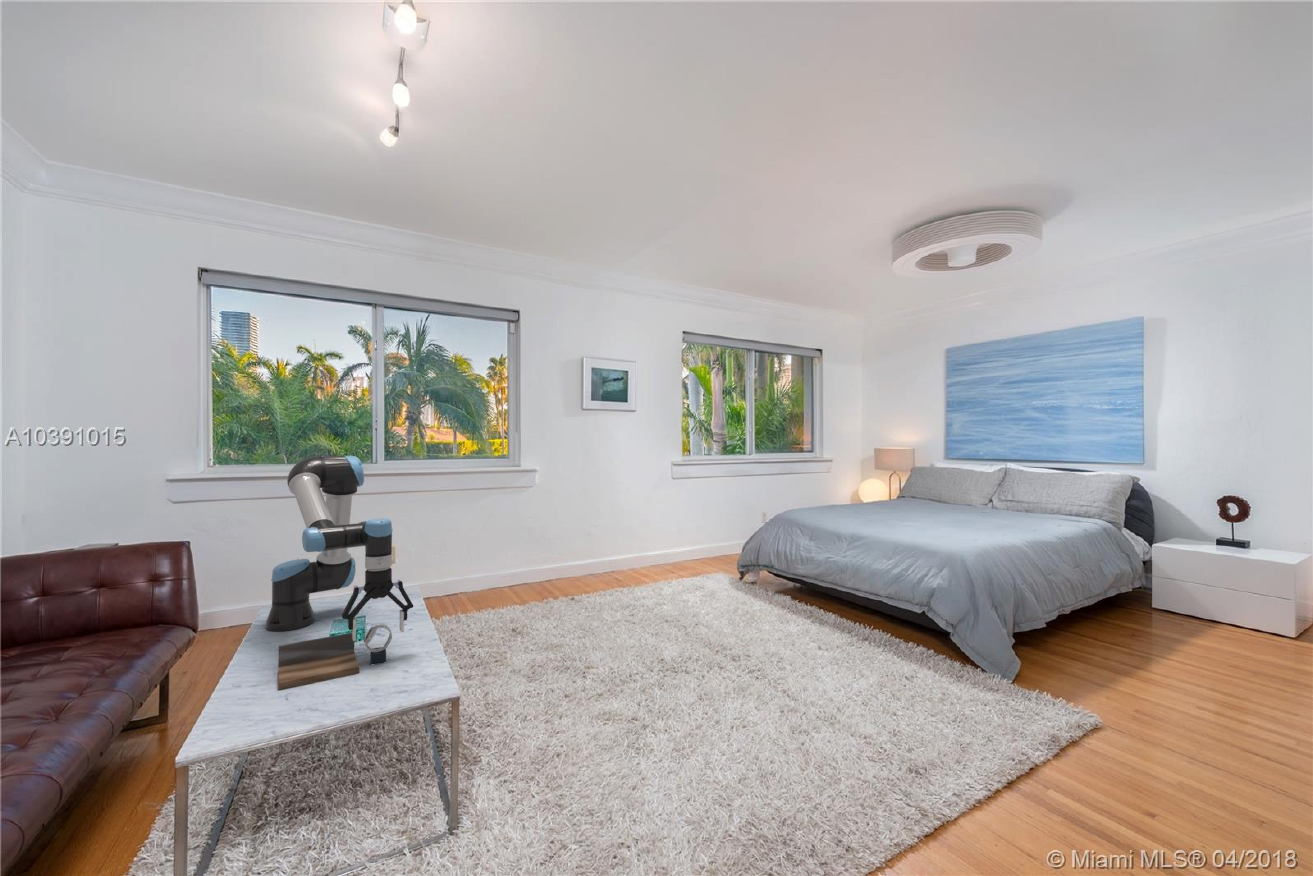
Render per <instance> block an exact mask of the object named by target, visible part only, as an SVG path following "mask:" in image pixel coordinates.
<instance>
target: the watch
mask: <svg viewBox="0 0 1313 876" xmlns="http://www.w3.org/2000/svg"><path fill="white" fill-rule="evenodd" d="M379 629H385V630H387V631H388V632H389V636H388V637H387V640H386V641H385V643H384V645H383V646H381V647H380V646H379V647H375V648H373V647H372V648H371V647H370V646H369V645H368V644H369V643H371V641H372V640H373V638H374V636H375V634H376V631H377V630H379ZM392 634H393V633H392V630H391V628H390V627H389V626H387V625H386V624H376V625H375V626H372V627H369V629H368V632H367V633H366V635H365V636H364V639H363V643H364V646H365V648H366V650H367V651H369V652H370V654H369V655H370V656H369V657H370V659H369V660H371V661H370V665H371V664H374V665H379V663H380V664H384V662H386V663H387V648H388V647H389V645H390V644H391V642H392V638H393V635H392Z"/></svg>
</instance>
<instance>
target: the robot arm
mask: <svg viewBox="0 0 1313 876" xmlns="http://www.w3.org/2000/svg"><path fill="white" fill-rule="evenodd" d="M286 483H287V487H288V490H289V491H290V493H291V494H293V496H295V499H296V503H297V506H298V508H299V511H300V513H301V514H300V515H301V517H302V519H303V522H304V524H305V529H304V530H303V531H302V535H301V543H302V548H303V551H304V552H306V553H315V552H317V553H318V554H317V556H316V561H310V559H308V558H300V559H299V558H298V559H297V558H296V559H293V560H287V561H285V562H282V563H279V564H278V565H275V566H274V568H273V569H272V572H271V573H272V574H271V580H270V581H271V582H272V583H271V607H270V610H269V613H268V616H267V618H266V622H265V629H266V630H267V631H271V632H287V631H295V630H298V629H302V628H305V627H308V626H310V625H312V624H314V622H315V613H314V610H313V608H312V605H311V603H310V594H315V593H321V592H326V591H327V592H328V591H333V590H340V589H344V588H347V587H349V586H350V585H352V583H353V581H354V579H355V576H356V571H357V570H356V568H357V567H356V561H355V558H354V557H352V554H351V553H350V552H349V551H348V549H349V548H350V549H351V548H357V547H365V549H364V552H365V557H364V558H365V559H364V561H365V563H364V567H365V569H366V570H365V571H364V577H365V578H364V581H365V582H364V586H359V585H354V586H353V591H352V594H351V596H350V598H349V600H348V602H347V603H346V605H345V608H344V610H343V612H342V613H341V618H342V620H348V621H347V624H348V625H347V628H348V630H349V631H351V633H352V639H353V641H354V642H356V640H357V619H356V617H357V615H358V614H359V612H360V611H361V610H362V609H363V608H364V606H365V605H366V604H367V603H368V602H369V601H370V600H371V599H373V600H377V599H379V598H380V599H383V598H384V599H385V598H386V597H387V596H388V598H389V599H391V600H392V601H393V602H394V603H395V604H396V605H397V606H398V607H399V608H401V609H400V610H399V631H400V633H404V632H405V630H404V629H405V628H404V627H405V625H404V624H405V621H407V620H408V611H409V610H410V609H413V608H414V604H413V603H412V600H411V599H410V597H409V595H408V593H407V592H406V590H405V588H404V584H403V581H402V580H401V579H398V580H397V581H394V582H393V579H392V575H393V574H392V571H393V568H392V565H393V564H392V563H393V562H392V561H393V560H392V559H393V558H392V556H393V555H392V552H393V551H392V547H393V546H392V545H393V544H392V543H393V542H392V541H393V526H392V524H393V523H392V521H391V519H388V518H373V519H369V520H366V521H365V520H364V521H360V522H357V523H351V522H350V521H351V511H352V501H353V495H355V494H356V493H358V488H360V487H361V486H363V485H364V483H365V473H364V467H363V464H362V462H361V460H360V458H358V457H357V456H354V455H353V456H352V455H333V456H332V455H329V456H328V455H327V456H324V455H323V456H316V455H315V456H308V457H306V458H304V459H301V460H300V461H298V462H296V463H295V464H294V465H293V467H292V468H291V469H290V471H289V473H288V475H287V482H286ZM323 494H324V495H325V498H324V495H323ZM394 587H395V589H398V591H399V592H400V594H401V596H402V597H403V599H404V601H405V602H406V604H404V602H402V601H401V600H400V599H399V598H398V597H397V596H396V595H395V594H394V593H392V592H391V590H392V589H393V588H394ZM363 591H364V593H365V594H364V595H363V596H362V599H361V600H360V601H359V602H358V603H357V605H356V606H354V604H355V603H356V600H357V598H358V596H359V595H360V594H361V593H362V592H363ZM353 606H354V608H353ZM352 608H353V609H352ZM351 610H352V611H351Z"/></svg>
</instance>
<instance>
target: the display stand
mask: <svg viewBox="0 0 1313 876" xmlns="http://www.w3.org/2000/svg"><path fill="white" fill-rule="evenodd" d="M277 655H278V657H277V658H278V659H277V660H278V662H277V663H278V665H277V666H278V667H277V669H278V670H277V671H278V672H277V673H278V678H277V679H278V680H277V681H278V691H281V690H287V689H292V688H296V687H300V686H305V685H310V684H315V683H319V682H324V681H330V680H333V679H339V678H343V677H348V676H352V675H353V676H354V675H357V673H358V674H360V664H359V662H358V658H357V656H356V653H355V641H353V639H352V632H350V633H343V634H338V635H337V634H336V635H332V636H326V637H320V638H315V639H309V640H303V641H298V642H291V643H287V644H285V643H284V644H281V645H280V644H279V645H278V654H277Z"/></svg>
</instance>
